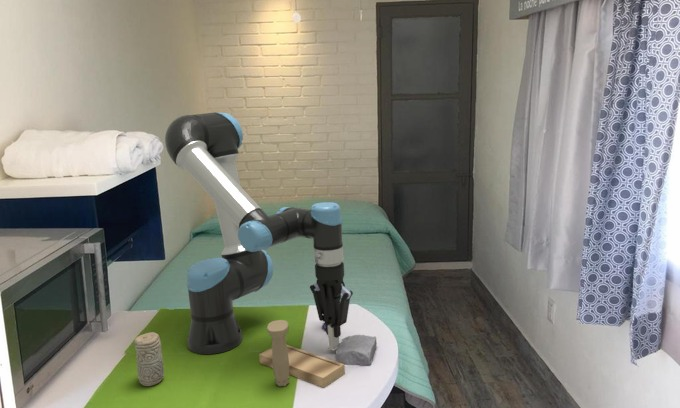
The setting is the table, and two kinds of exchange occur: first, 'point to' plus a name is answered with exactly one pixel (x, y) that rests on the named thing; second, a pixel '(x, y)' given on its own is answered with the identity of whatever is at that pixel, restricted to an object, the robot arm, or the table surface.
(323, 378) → the oak board
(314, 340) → the table surface
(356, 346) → the stone block
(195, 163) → the robot arm
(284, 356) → the handle
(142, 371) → the carving
